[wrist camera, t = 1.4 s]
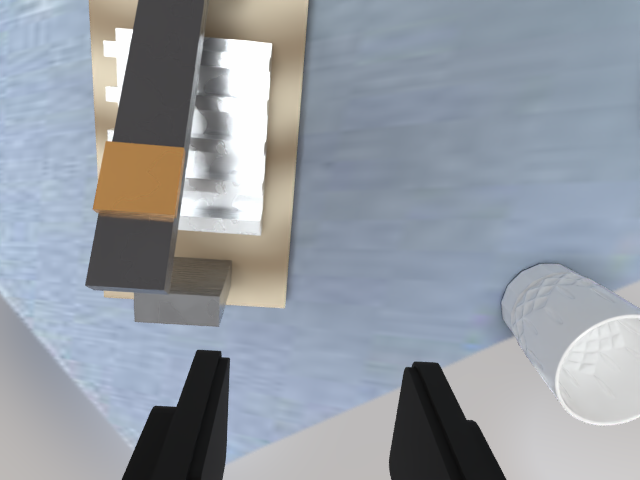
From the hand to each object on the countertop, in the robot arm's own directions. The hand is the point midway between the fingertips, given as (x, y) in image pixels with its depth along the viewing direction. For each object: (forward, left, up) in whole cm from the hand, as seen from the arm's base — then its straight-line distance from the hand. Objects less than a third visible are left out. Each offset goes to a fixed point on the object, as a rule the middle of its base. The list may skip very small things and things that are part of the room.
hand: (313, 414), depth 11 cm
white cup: (+8, +20, -26) cm, 33 cm away
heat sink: (-4, -7, -23) cm, 25 cm away
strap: (-6, -7, -14) cm, 17 cm away
